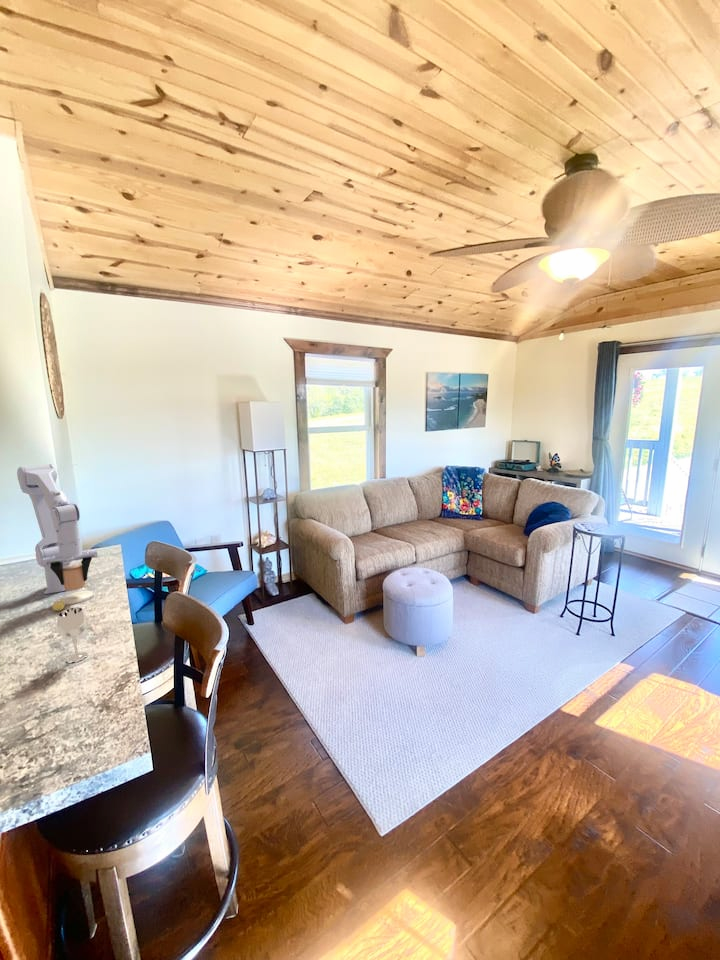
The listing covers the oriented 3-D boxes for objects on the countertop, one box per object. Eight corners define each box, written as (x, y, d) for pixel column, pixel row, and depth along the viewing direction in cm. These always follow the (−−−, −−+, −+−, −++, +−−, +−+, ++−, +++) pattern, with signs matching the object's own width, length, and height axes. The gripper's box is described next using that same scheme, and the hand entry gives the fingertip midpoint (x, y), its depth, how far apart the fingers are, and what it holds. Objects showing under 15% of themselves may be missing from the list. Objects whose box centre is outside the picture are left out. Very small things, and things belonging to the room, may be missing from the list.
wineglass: (76, 666, 94) (69, 618, 92) (56, 663, 95) (49, 616, 93) (96, 652, 99) (90, 607, 98) (77, 650, 101) (71, 605, 99)
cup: (66, 585, 131) (63, 566, 130) (86, 582, 134) (83, 563, 133) (63, 592, 127) (60, 572, 126) (84, 588, 129) (81, 569, 128)
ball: (54, 609, 123) (52, 600, 123) (66, 607, 125) (64, 598, 124) (52, 613, 121) (50, 604, 120) (64, 611, 122) (63, 602, 122)
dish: (62, 596, 133) (62, 594, 133) (94, 590, 137) (94, 588, 137) (57, 607, 125) (56, 604, 125) (91, 600, 129) (91, 598, 129)
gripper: (37, 549, 121) (44, 591, 123) (94, 541, 128) (99, 581, 130) (43, 543, 128) (49, 583, 129) (96, 536, 134) (101, 574, 136)
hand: (74, 581), depth 130 cm, fingers closed on cup, 5 cm apart
